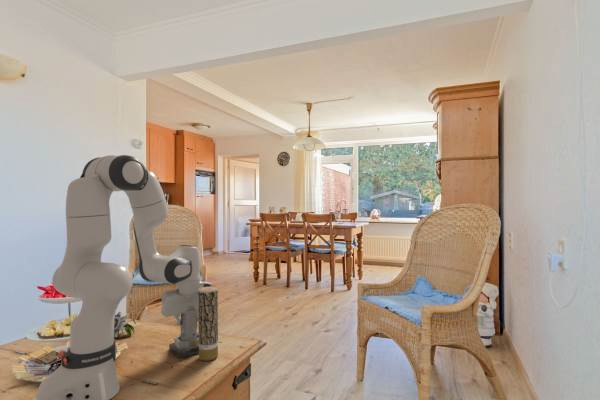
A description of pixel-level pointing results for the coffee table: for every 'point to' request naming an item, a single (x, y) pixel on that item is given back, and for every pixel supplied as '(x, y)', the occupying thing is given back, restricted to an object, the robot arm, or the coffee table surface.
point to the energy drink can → (189, 324)
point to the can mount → (185, 347)
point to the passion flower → (122, 325)
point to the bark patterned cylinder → (208, 323)
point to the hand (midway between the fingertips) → (189, 322)
